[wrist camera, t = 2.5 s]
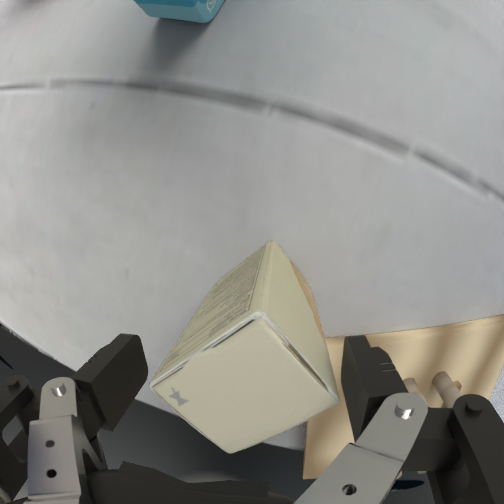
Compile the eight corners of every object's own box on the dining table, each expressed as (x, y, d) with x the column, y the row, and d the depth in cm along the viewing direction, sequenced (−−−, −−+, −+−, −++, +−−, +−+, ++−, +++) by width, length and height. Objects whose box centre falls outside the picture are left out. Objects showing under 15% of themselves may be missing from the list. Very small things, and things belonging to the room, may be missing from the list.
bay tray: (507, 313, 17) (540, 338, 12) (458, 439, 21) (473, 469, 16) (310, 338, 20) (315, 382, 15) (302, 468, 23) (302, 506, 18)
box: (253, 330, 20) (222, 459, 9) (212, 283, 19) (138, 388, 9) (316, 287, 19) (345, 405, 8) (275, 234, 18) (259, 309, 7)
